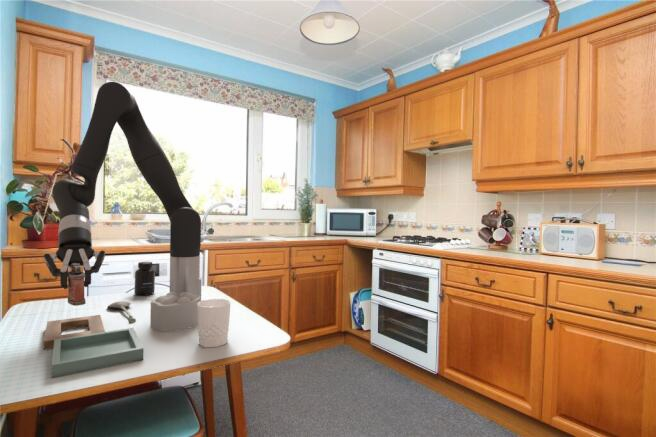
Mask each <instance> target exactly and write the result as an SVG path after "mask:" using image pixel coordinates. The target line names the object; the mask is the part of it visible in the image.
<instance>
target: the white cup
mask: <svg viewBox="0 0 656 437" xmlns="http://www.w3.org/2000/svg"><path fill="white" fill-rule="evenodd" d="M230 313H231V300H228V299H223V298H210V299H204V300H201V301H200V302H198V303H197V315H198V325H197V333H198V344H199V346H200V347H204V348H217V347H222V346H224V345H225V344H227V343H228V340H229V339H228V337H229V336H228V334H229V330H230V329H229V328H230V327H229V325H230V316H231V314H230Z"/></svg>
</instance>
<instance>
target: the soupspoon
mask: <svg viewBox="0 0 656 437" xmlns="http://www.w3.org/2000/svg"><path fill="white" fill-rule="evenodd" d="M130 305H131V303H130V302H127V301H121V300H120V301H115V302H113V303H111V304H109V305H108V306H107V308H108V309H109V308H115V309H116V308H117V309H121V310H123V311H124V312H125V314H127V316H128V318H129V320H128V323H135V322H136V321H137V319H136V318H135V317H133V316H132V314H131V313H130V311H128V309H127V307H129V306H130Z"/></svg>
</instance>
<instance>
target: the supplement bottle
mask: <svg viewBox="0 0 656 437" xmlns="http://www.w3.org/2000/svg"><path fill="white" fill-rule="evenodd" d="M137 268H138V269H136V270H135V272H134V289H133V290H134V295H135V296H139V297H142V296H143V297H144V296H150V295H154V294H155V288H156V287H155V284H156V282H155V281H156V271H155V269H153V262H152V261H139V262H138V264H137Z"/></svg>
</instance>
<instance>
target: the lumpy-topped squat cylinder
mask: <svg viewBox="0 0 656 437" xmlns="http://www.w3.org/2000/svg"><path fill="white" fill-rule="evenodd" d="M200 301H202V296H201V297H200V296H197V295H195V294H191V293H188V292H183V293H181V294H179V295H178V294H177V293H174V292H170V291H169V292H168V293H167V294H164V295H160V296H158V297H156V298H154V299H152V300H151V301H150V328H151V329H154V330H156V331H157V332H158V333H166V334H167V333H173V332H177V331H182V330H186V329H190V328H193V327H196V326H198V315H197V303H198V302H200Z"/></svg>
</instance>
